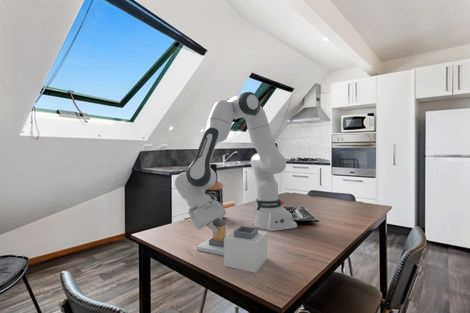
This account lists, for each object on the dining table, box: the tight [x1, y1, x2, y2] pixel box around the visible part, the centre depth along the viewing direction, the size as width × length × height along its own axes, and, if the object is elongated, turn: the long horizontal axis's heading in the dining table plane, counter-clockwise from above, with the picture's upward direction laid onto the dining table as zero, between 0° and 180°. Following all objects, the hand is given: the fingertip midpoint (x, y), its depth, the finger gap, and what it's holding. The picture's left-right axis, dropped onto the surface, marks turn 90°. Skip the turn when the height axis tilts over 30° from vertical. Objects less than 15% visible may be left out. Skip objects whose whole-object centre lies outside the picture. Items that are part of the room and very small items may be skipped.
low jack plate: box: [196, 235, 224, 257], centre depth 108 cm, size 14×14×4 cm
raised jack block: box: [223, 225, 268, 274], centre depth 93 cm, size 12×12×12 cm
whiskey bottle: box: [204, 163, 225, 219], centre depth 150 cm, size 10×10×32 cm
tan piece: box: [212, 219, 227, 242], centre depth 108 cm, size 4×4×8 cm
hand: (220, 229), depth 107 cm, fingers closed on tan piece, 4 cm apart
